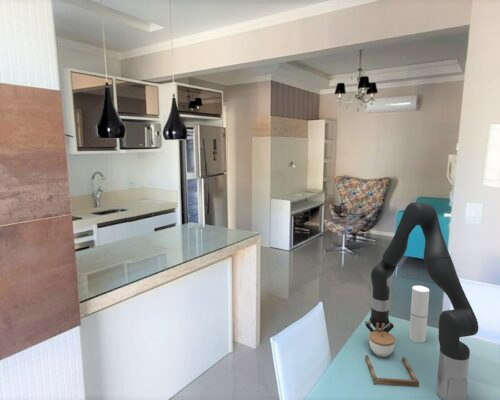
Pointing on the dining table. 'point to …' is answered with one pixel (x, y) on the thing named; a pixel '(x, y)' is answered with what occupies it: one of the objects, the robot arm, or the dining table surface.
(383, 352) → the lidded jar
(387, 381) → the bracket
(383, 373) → the dining table surface
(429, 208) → the robot arm
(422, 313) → the cylindrical container
